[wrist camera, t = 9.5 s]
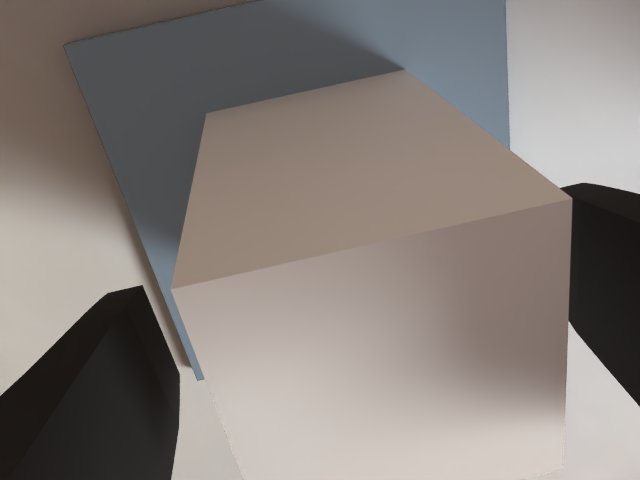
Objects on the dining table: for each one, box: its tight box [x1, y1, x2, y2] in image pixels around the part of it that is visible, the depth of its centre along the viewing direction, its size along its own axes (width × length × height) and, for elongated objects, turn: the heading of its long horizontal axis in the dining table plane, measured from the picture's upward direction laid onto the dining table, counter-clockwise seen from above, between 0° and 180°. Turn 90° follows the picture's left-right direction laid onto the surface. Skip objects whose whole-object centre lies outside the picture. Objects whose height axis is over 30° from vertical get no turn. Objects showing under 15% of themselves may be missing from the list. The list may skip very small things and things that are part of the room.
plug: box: [171, 69, 572, 480], centre depth 10 cm, size 4×4×7 cm
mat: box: [63, 0, 510, 381], centre depth 14 cm, size 9×9×1 cm
